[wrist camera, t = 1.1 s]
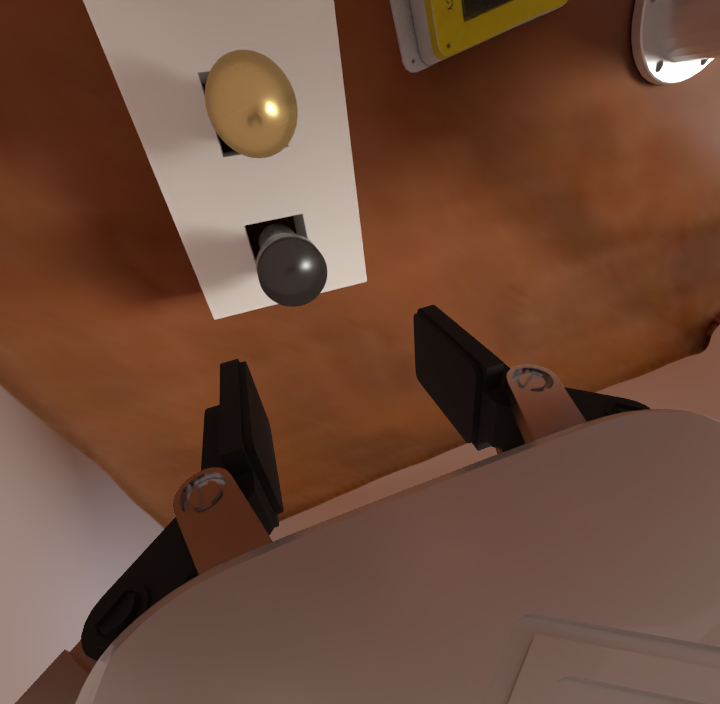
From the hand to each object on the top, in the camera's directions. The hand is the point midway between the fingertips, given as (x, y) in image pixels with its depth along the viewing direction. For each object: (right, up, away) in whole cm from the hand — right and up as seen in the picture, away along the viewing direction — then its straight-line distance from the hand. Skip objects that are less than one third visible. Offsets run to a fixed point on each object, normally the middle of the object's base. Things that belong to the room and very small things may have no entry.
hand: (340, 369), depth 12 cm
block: (-8, +17, +13) cm, 23 cm away
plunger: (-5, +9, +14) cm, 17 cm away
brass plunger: (-6, +15, +9) cm, 19 cm away
